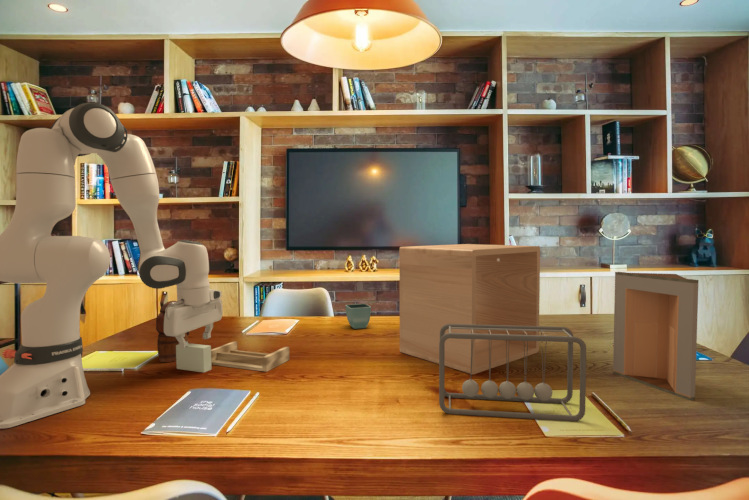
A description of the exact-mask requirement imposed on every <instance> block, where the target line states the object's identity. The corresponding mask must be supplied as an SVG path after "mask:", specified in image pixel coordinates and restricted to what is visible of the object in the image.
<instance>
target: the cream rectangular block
mask: <svg viewBox="0 0 749 500" xmlns="http://www.w3.org/2000/svg"><path fill="white" fill-rule="evenodd" d="M211 349H212V346H211V345H209V344H200V343H199V344H198V343H192V342H191V343H190V342H189V343H188V347H186V348H184V349H181V348H180V347H179V344H178V345H176V361H175V362H176V369H177V370H184V371H190V372H197V373H206V372H208V371H211V370H212V365H211Z"/></svg>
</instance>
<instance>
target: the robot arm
mask: <svg viewBox="0 0 749 500" xmlns="http://www.w3.org/2000/svg"><path fill="white" fill-rule="evenodd" d="M17 149H18V150H17V155H16V156H17V157H16V168H15V170H16V173H15V174H16V190H15V191H16V193H15V196H16V197H15V206H14V210H13V211H14V212H13V215H12V217H11V219H10V221H9V223H8V225H7V226H6V228H4V230H3V231H2V232H1V234H0V282H3V283H11V284H46V288H45V291H44V294H43V296H42V297H40V298H37V299H36V300H34V301H33V302H30V303H29V304H27V306H25V308H24V309H23V310H22V311H21V314H20V324H21V325H20V327H21V328H20V329H21V344H20V345H19V348H18V349H17V350H16V349H10V348H6V349H4V350H3V351H2V354H1V355H2V357H4V359H9V360H11V359H14V361H13V364H12V365H11V366H9V367H8V368H7V369H6V370H5V371H4V372H3V373H1V374H0V429H9V428H13V427H16V426H19V425H22V424H27V423H28V422H33V421H35V420H38V419H42V418H45V417H48V416H51V415H55V414H57V413H61V412H64V411H68V410H71V409H73V408H77V407H80V406H83V405H85V404H86V400H87V398H88V397H89V396H90V395H91V390H90V389H89V387H88V384H87V380H86V377H85V372H84V366H83V360H82V357H83V351H84V349H83V348H84V347H83V338H82V337H81V333H80V330H81V328H80V327H81V326H80V325H81V324H80V321H81V320H80V318H81V307H82V303H83V300H84V297H85V295H86V293H87V292H88V290H89V289H90V288H91V286H92V285H93V284H94V283H96V282H97V281H98V280H99V279H101V278H102V277H103V276H104V275H105V274H106V272H107V271H108V269H109V268H110V266H111V265H110V264H111V254H110V251H109V248H108V247H107V245H106V244H105V243H104V242H103V241H102V240H101V239H98V238H92V237H88V236H82V235H51V234H52V231H53V229H54V227H55V225H56V224H57V223H58V222H60V221H62V220H64V219H67V218H68V217H70V216H71V215H72V214H73V213H74V211H75V209H76V207H77V205H76V172H75V171H76V170H75V169H76V168H75V165H76V161H77V158H78V157H83V156H84V157H85V156H87V155H91V154H96V155H98V156H99V157H100V159H102V161H103V162H104V164H105V166H106V168H107V170H108V171H107V172H108V176H109V179H110V184H111V187H112V190H113V192H114V194H115V196H116V199H117V201H118V202H119V204H120V206H121V207H122V209H123V210H124V211H125V213H126V214H127V216H128V217H129V219H130V221H131V222H132V225H133V228H134V232H135V235H136V236H135V237H136V240H137V243H138V248H139V258H138V262H137V272H138V275H139V278H140V280H141V282H142V283H143V285H145V286H147V287H148V288H152V289H155V290H156V289H157V290H158V289H159V290H160V289H165V288H170V287H172V286H176V300H174V301H175V302H171V303H169V305H168V306H167V308H166V310H165V317H164V333H165V335H167V336H173V337H176V339H177V340H178V342H179V347H180V348H181V349H184V348H186V347H188V341H189V340H188V341H185V339H184V337H185V333H186V332H189V331H190V332H192V331H194V330H197V329H200V328H202V327H205V328H204V332H202V339H204V340H209V339H210V338H211V337H212V334H211V333H212V330H213V328H214V323H215V322H218V321H221V320H222V317H223V301H222V299H221V298H222V297H223V292H222V291H221V290H219V289H214V288H213V289H212V288H211V285H210V284H211V283H210V281H209V273H210V261H209V254H208V249H207V247H206V246H205V244H203V243H201V242H200V241H194V240H187V239H180V240H178V241H177V242H175V243H174V244H172V245H171V246H169V247H167V248H166V247H165V245H164V243H163V239H162V234H161V231H160V227H159V223H158V217H157V216H158V207H159V204H160V203H159V202H160V186H159V185H160V184H159V181H158V176H157V175H158V174H157V171H156V168H155V164H154V162H153V158H152V157H151V153H150V151H149V149H148V147H147V145H146V143H145V141H144V140H143V139H142V138H140V137H139V136H138V135H135V134H130V133H129V132H128V129H127V128H126V127H125V125H123V124H122V123H121V120H120V118H119V117H118V116H117V114H116V113H115V112H114V111H113V110H112V109H111V108H110V107H108V106H106V105H104V104H102V103H97V102H86V103H79V104H78V105H77V106H76V107H72V108H70V109H67V110H66V111H65V112H64V113H63V114H61V116H59V117H58V118H57V119H56V120H55V121H54V122H53V123H52V125H51V126H50V128H47V127H35V128H31V129H28V130H26V131H25V132H23V133H22V135H21V137H20V140H19V143H18V148H17ZM169 306H170V307H169ZM190 332H189V333H190Z"/></svg>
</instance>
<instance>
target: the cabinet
mask: <svg viewBox="0 0 749 500" xmlns="http://www.w3.org/2000/svg"><path fill="white" fill-rule="evenodd" d="M698 304H699V280H698V279H692V278H687V277H683V276H681V275H679V274H676V273H652V272H625V271H615V272H614V307H613V308H614V309H613V310H614V311H613V313H614V315H613V316H614V317H613V353H612V354H613V355H612V356H613V357H612V358H613V359H612V361H613V363H612V373H613V374H614V375H617V376H620V377H623V378H625V379H628V380H631V381H634V382H636V383H639V384H642V385H645V386H647V387H650V388H654V389H657V390H660V391H662V392H665V393H668V394H671V395H673V396H676V397H680V398H682V399H685V400H688V401H694V400H695V399H696V379H697V378H696V375H697V374H696V373H697V345H698V344H697V340H698V338H697V337H698V335H697V334H698V315H699V314H698V309H699V307H698Z"/></svg>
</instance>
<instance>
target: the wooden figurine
mask: <svg viewBox="0 0 749 500" xmlns="http://www.w3.org/2000/svg"><path fill="white" fill-rule="evenodd" d="M175 301H176V300H170V301H166V302H165V303H164V304H162V306H161V308H160V310H159V314H157V316H156V319H155V331H156V332H158V336H157V340H156V341H157V343H156V345H157V355H158V359H159V362H160V363H171V362H176V345H178V344H179V342H178V340H177V339H176V337H173V336H167V335H165V333H164V317H165V310H166V308H167V306H168V305H169V303H171V302H175ZM169 307H170V306H169ZM190 333H191V331H189V332H186V333H185V337H184V339H185V341H188V343H190V342H189V335H190Z"/></svg>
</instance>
